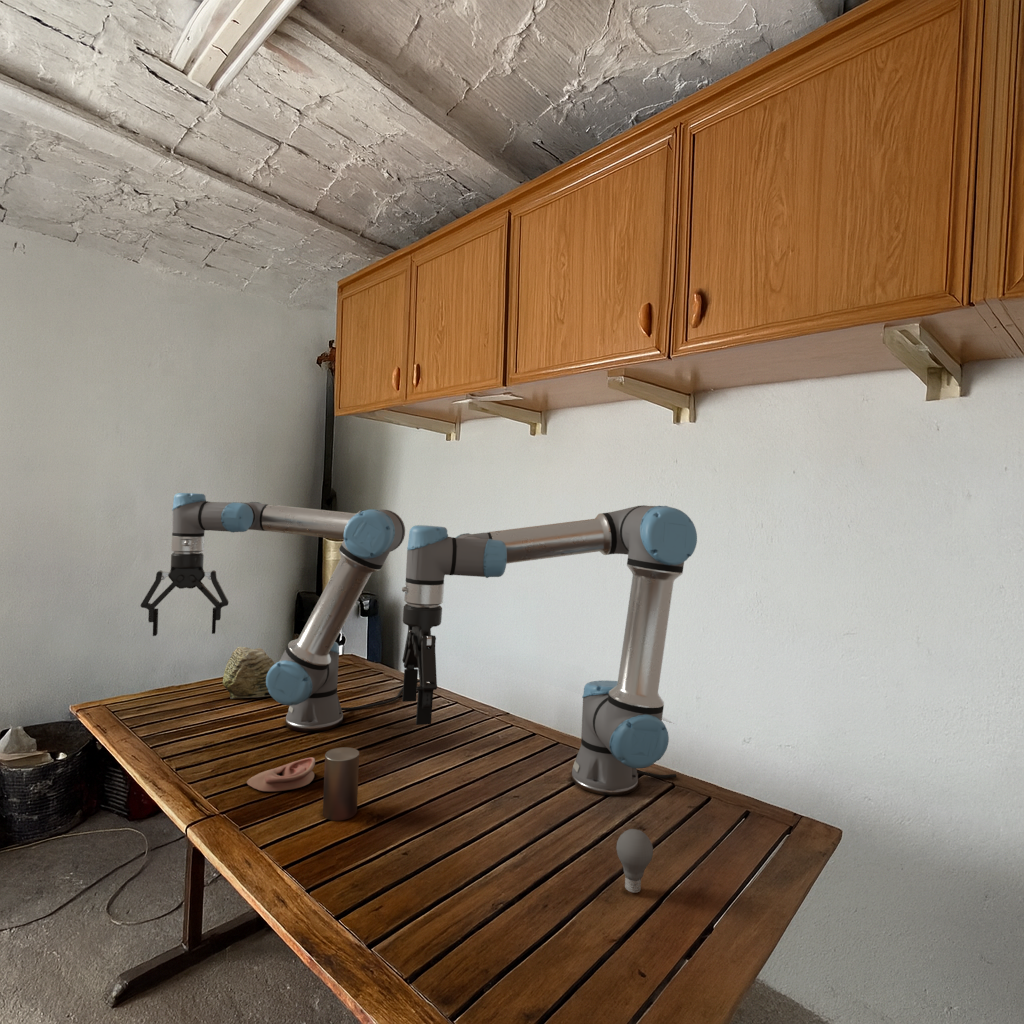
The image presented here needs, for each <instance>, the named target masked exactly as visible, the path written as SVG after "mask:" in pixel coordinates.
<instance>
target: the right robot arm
mask: <svg viewBox="0 0 1024 1024" xmlns="http://www.w3.org/2000/svg"><path fill="white" fill-rule="evenodd" d="M408 532H409V533H408V539H407V540H408V541H407V547H406V563H405V564H406V567H405V586H403V587H401V591H402V592H403V593H404V600H403V601H404V602H405V604H404V606H403V609H402V610H403V611H402V623H403V624H404V625H406V626H407V633H406V639H405V645H404V649H403V650H404V651H403V655H402V659H401V661H402V663H403V667H404V670H403V682H402V683H403V685H402V688H403V692H402V699H401V701H402V702H403V703H404V702H405V703H407V702H416V715H415V716H416V717H415V718H416V719H415V725H416V726H424V725H425V726H426V725H432V716H433V700H434V691H437V689H438V681H437V680H438V679H437V658H436V640H437V637H436V635H433V634H432V628H433V627H434V628H437V627H439V626H440V625H441V624H442V619H443V617H442V616H443V607H442V606H441V605H442V604H443V603H444V592H445V577H446V576H463V577H480V578H486V579H489V578H500V577H502V576H503V575H504V574H505V572H506V569H507V564H508V565H509V564H516V563H522V562H530V561H537V560H544V559H545V560H546V559H551V558H561V557H569V556H575V555H583V554H591V553H598V552H600V553H601V554H602V555H603V556H608V555H627V562H626V566H627V568H628V569H629V570H630V572H631V574H632V578H631V585H630V592H629V597H628V599H629V600H628V606H627V612H626V619H625V620H626V621H625V626H624V627H625V628H624V633H623V642H622V649H621V655H620V663H619V669H618V677H617V680H592V681H588V682H587V683H586V684H585V685H584V687H583V693H582V709H581V710H582V712H581V713H582V714H581V737H580V738H581V739H580V747H579V749H578V752H577V755H576V757H575V760H574V762H573V765H572V770H571V780H572V782H573V783H574V784H575V785H576V786H577V787H578V788H580V789H582V790H584V791H586V792H589V793H592V794H595V795H596V794H597V795H601V796H622V795H627V794H630V793H632V792H634V791H636V789H637V788H638V786H639V775H641V776H642V775H643V776H648V777H651V778H655V779H675V778H677V774H676V773H674V774H657V773H653V772H649V771H642V770H641V769H645V768H649V767H651V766H653V765H654V763H657V762H658V761H660V760H661V759H662V758H663V757H664V755H665V753H666V751H667V749H668V746H669V742H670V737H669V731H668V729H667V727H666V724H665V723H664V722H663V715H664V706H665V701H664V699H663V698H662V696H660V694H659V689H660V688H659V687H660V681H661V673H662V668H663V660H664V653H665V647H666V639H667V631H668V624H669V618H670V610H671V605H672V604H671V603H672V596H673V591H674V582H675V580H676V579H678V578H679V577H680V576H682V575H683V573H684V566H685V562H686V561H687V560H689V558H690V557H692V555H693V554H694V553H695V550H696V548H697V543H698V533H697V528H696V525H695V524H694V522H693V520H692V519H691V518H690V517H689V515H688V514H687V513H686V512H684V511H683V510H681V509H678V508H675V507H671V506H668V505H635V506H630V507H627V508H622V509H619V510H614V511H609V512H603V513H598V514H597V515H596V516H595V518H589V519H582V520H572V521H565V522H557V523H550V524H542V525H533V526H526V527H525V526H524V527H517V528H508V529H502V530H493V531H487V532H479V533H469V532H468V533H461V534H459V535H457V536H455V537H452V536H449V534H448V529H447V527H445V526H436V525H425V524H423V525H422V524H418V525H416V524H415V525H412V527H410V529H409V531H408ZM417 680H419V682H418V683H419V685H418V683H417ZM638 769H640V770H638Z"/></svg>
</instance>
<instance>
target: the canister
mask: <svg viewBox="0 0 1024 1024" xmlns="http://www.w3.org/2000/svg"><path fill="white" fill-rule="evenodd" d="M359 766H360V751H359V750H358V749H356V748H353V747H347V746H346V747H345V746H344V747H343V746H341V747H335V748H332V749H329V750H328V751H326V752H325V754H324V770H323V771H324V772H323V773H324V774H323V798H322V801H323V802H322V816H323V818H325V819H326V820H329V821H335V822H338V821H339V822H340V821H345V820H346V821H347V820H348V819H351V818H353V817H355V816H356V815H357V813H358V795H359V794H358V793H359V792H358V791H359V770H360V767H359Z"/></svg>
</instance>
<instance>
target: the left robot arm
mask: <svg viewBox="0 0 1024 1024" xmlns="http://www.w3.org/2000/svg"><path fill="white" fill-rule="evenodd" d="M171 512H172V530H171V531H172V533H171V546H170V547H171V549H170V550H171V552H172V553H171V554H170V570H169V571H163V570H157V572H156V573H155V580H154V582H153V583H152V585H151V586H150V588H149V590H148V592H147V593H146V595H145V596H144V598H143V600H142V601H141V603H140V608H142V609H147V610H148V623H152V624H153V625H152V637H156V636H157V635H158V630H159V629H158V628H159V608H156V607H157V606H158V605H159V604H160V603H161V602H162V601H163V600H164V599H165V598H166V597H167V596H168V595H169V594H170V593H171V592H172V591H173V590H174V589H175V588H178V589H180V590H181V589H182V590H183V589H188V590H189V589H194V588H197V590H199V591H200V592H201V593H202V594H203V596H205V598H207V600H208V601H209V602H210V603H211V604H212V605H213V606H214V607H212V615H211V616H212V617H211V618H212V619H211V634H212V635H216V632H217V631H216V629H217V628H216V627H217V621H220V620H221V617H222V608H224V607H227V606H228V605H229V602H230V601H229V599H228V597H227V596H226V594H225V591H224V590H223V588H222V586H221V584H220V582H219V580H218V578H217V571H216V570H213V569H212V570H211V571H205V570H204V557H205V556H204V553H202V552H203V551H204V550H205V531H211V532H212V531H215V532H229V533H245V532H247V531H248V530H249V531H260V532H273V533H281V534H289V535H297V536H306V537H307V536H308V537H316V538H324V539H325V538H326V539H334V540H342V542H341V544H340V546H339V548H338V553H339V555H340V559H339V561H338V563H337V565H336V567H335V568H334V570H333V572H332V574H331V576H330V577H329V580H328V582H327V584H326V585H325V587H324V589H323V591H322V593H321V595H320V597H319V598H318V600H317V603H316V604H315V605H314V607H313V610H312V611H311V613H310V616H309V617H308V619H307V621H306V623H305V625H304V627H303V629H302V631H300V632H301V633H300V634H299V636H298V638H295V639H293V640H290V641H289V642H288V644H287V646H286V648H285V650H284V651H283V653H282V655H281V656H280V658H279V661H276V662H274V663H275V664H274V665H273V666H272V667H271V668H270V670H269V671H268V673H267V676H266V686H267V688H268V692H269V694H270V695H271V696H270V697H271V698H272V699H273V700H274V701H275V702H277V703H279V704H280V705H284V706H288V711H287V713H286V715H285V726H286V728H287V729H289V730H291V731H294V732H295V731H296V732H301V733H316V732H325V731H329V730H332V729H335V728H337V727H339V726H340V725H342V723H343V722H344V713H343V711H353V710H362V709H368V708H372V707H377V706H378V707H379V706H382V705H386V704H390V703H392V702H395V701H397V700H398V699H400V697H401V695H402V694H403V687H401V689H400V690H399V691H398V694H397V695H396V696H395V697H392V698H390V699H388V700H383V701H379V702H375V703H371V704H365V705H358V706H350V707H349V706H348V707H347V706H344V707H343V706H341V702H340V699H339V695H338V682H339V662H340V661H339V660H340V659H339V657H340V645H339V643H338V642H337V639H338V637H339V635H340V633H341V631H342V629H343V627H344V626H345V624H346V622H347V620H348V618H349V616H350V614H351V613H352V611H353V609H354V608H355V605H356V603H357V601H358V599H359V598H360V596H361V594H362V592H363V590H364V589H365V586H366V585H367V583H368V582H369V579H370V577H371V575H372V574H373V573H376V572H378V571H381V569H382V567H383V566H384V564H385V562H386V561H387V558H388V556H389V555H390V553H391V552H393V551H395V550H397V549H398V548H399V547H400V546H401V545H402V543H403V542H404V539H405V537H406V526H405V522H404V521H403V519H402V518H401V517H400V515H398V514H397V513H396V512H394V511H392V510H390V509H389V510H388V509H366V510H362V509H360V510H359V511H358V512H356V513H355V512H348V511H347V512H346V511H338V510H326V509H319V508H308V507H298V506H288V505H279V504H271V503H270V504H269V503H268V504H267V503H262V502H257V501H248V502H239V501H238V502H237V501H235V502H234V501H233V502H231V501H230V502H227V501H208V500H207V497H206V495H205V494H204V493H191V492H177V493H175V494H174V496H173V503H172V508H171ZM167 577H168V578H169V580H170V581H171V583H170V584H169V586H168V587H167V588H165V590H164V591H162V592H161V593H160V595H158V596H157V597H156V598H155V599H154V600H153V602H152V603H151V602H150V601H151V599H152V597H153V595H154V594H155V592H156V591H157V589H158V587H159V586H160V584H161V582H162V581H164V580H165V579H166V578H167ZM205 577H207V580H210V581H211V584H212V585H213V587H214V588H215V591H216V593H217V595H218V597H219V599H220V601H219V600H218V598H217V597H216V596H215V595H214V594H213V593H212V592H211V591H210V590H209V589H208V588H207V587H206V586H205V584H204V583H203V581H202V580H204V578H205ZM419 683H420V682H419V679H417V684H419Z"/></svg>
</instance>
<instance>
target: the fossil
mask: <svg viewBox="0 0 1024 1024" xmlns="http://www.w3.org/2000/svg"><path fill="white" fill-rule="evenodd" d="M275 663H276V662H274V660H273V659H272V658H271V657H270V656H269V655H268V654H267V653H266V652H265V650H264V649H263V648H260V647H258V648H251V647H247V646H246V647H245V646H238V647H237V648H236V649H235V650H233V651H232V653H231V656H230V657H229V659H228V660H227V663H226V666H225V668H224V671H223V675H222V676H223V677H222V685H223V687H224V688H225V690H226V691H228V693H229V698H230V699H250V698H264V697H271V695H270V694H269V692H268V688H267V686H266V676H267V673H268V671H269V670H270V668H271V667H272V666H273V665H274V664H275Z"/></svg>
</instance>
